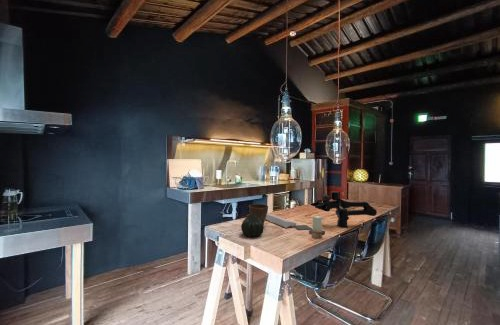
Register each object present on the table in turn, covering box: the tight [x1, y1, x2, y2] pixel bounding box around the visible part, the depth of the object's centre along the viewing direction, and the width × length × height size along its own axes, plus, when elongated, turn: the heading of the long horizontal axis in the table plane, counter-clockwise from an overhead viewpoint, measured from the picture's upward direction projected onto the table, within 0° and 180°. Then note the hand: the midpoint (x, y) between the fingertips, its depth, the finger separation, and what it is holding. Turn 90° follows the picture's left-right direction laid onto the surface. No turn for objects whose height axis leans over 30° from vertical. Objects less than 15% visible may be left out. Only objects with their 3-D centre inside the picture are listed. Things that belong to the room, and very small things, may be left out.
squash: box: [240, 213, 264, 238], centre depth 169 cm, size 14×15×15 cm
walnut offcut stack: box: [311, 230, 323, 240], centre depth 168 cm, size 5×5×4 cm
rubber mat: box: [293, 224, 313, 231], centre depth 190 cm, size 11×10×1 cm
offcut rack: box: [308, 229, 326, 236], centre depth 177 cm, size 9×8×2 cm
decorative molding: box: [265, 213, 297, 229], centre depth 204 cm, size 34×5×10 cm
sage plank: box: [312, 215, 323, 231], centre depth 177 cm, size 5×4×12 cm
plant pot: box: [248, 203, 269, 225], centre depth 190 cm, size 15×15×16 cm
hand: (312, 205), depth 194 cm, fingers open, 9 cm apart
